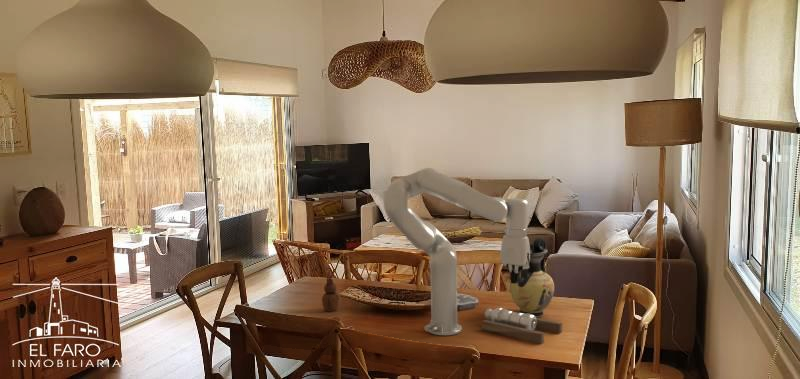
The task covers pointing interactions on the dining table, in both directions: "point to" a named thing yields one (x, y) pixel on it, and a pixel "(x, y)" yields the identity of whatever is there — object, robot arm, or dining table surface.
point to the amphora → (534, 283)
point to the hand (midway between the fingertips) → (514, 282)
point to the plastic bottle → (512, 318)
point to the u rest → (523, 330)
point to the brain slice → (466, 302)
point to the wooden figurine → (330, 296)
